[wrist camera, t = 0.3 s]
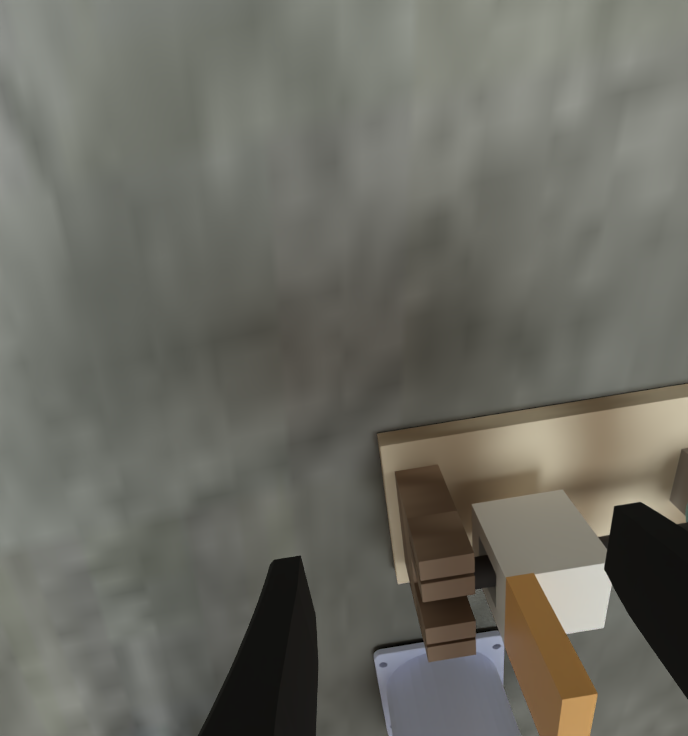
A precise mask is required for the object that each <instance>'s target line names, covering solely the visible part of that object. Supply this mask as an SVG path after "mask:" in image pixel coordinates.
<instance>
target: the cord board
mask: <svg viewBox="0 0 688 736" xmlns="http://www.w3.org/2000/svg"><path fill="white" fill-rule="evenodd" d="M377 437H378V445H379V452H380V460H381V468H382V475H383V483H384V490H385V498H386V506H387V513H388V521H389V528H390V536H391V544H392V551H393V559H394V566H395V572H396V577H397V582H398V584H402V583H408V582H410V586H411V590H412V594H413V599H414V603H415V607H416V611H417V616H418V620H419V624H420V628H421V633H422V637H423V641H424V645H425V649H426V654H427V658H428V662H434V661H440V660H447V659H453V658H459V657H465V656H471V655H476V639H475V637H476V621H475V618H474V615H473V612H472V609H471V607H470V604H469V601H468V598H467V595H472V594H475V589H481V588H487V587H493V586H496V573H495V571H494V568H493V566H492V564H491V562H490V559H489V557H488V555H483V556H477V557H474V551H473V548H472V504H475V503H481V502H487V501H494V500H500V499H506V498H512V497H518V496H524V495H531V494H537V493H543V492H549V491H555V490H562V489H563V491H564V492H565V493H566V495H567V496H568V497H569V499H570V500H571V501H572V503H573V504H574V505H575V507H576V508H577V510H578V511H579V512H580V514H581V515H582V516H583V518H584V519H585V520H586V522H587V523H588V524H589V526H590V527H591V528H592V530H593V531H594V532H595V534H596V535H597V536H598V538H599V539H600V541H601V542H602V543H603V545H604V546H605V547H606V549H607V547H608V541H609V535H610V529H611V523H612V516H613V510H614V506H617V505H624V504H630V503H636V502H642V503H644V504H645V505H647V506H649V507H650V508H652V509H654V510H655V511H657V512H658V513H660V514H662V515H663V516H665V517H666V518H668V519H670V520H671V521H673V522H674V523H676V524H677V525H679V526H681V527H682V528H684V529H685V530H687V531H688V384H682V385H675V386H669V387H663V388H657V389H651V390H644V391H638V392H632V393H626V394H620V395H613V396H607V397H601V398H595V399H589V400H582V401H576V402H570V403H564V404H558V405H551V406H545V407H539V408H533V409H526V410H520V411H514V412H508V413H502V414H495V415H489V416H483V417H477V418H471V419H464V420H458V421H452V422H446V423H440V424H433V425H427V426H421V427H415V428H409V429H402V430H396V431H390V432H384V433H377Z"/></svg>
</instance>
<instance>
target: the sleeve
mask: <svg viewBox="0 0 688 736" xmlns="http://www.w3.org/2000/svg"><path fill="white" fill-rule="evenodd" d="M472 548H473V551H474V557H477V556H483V555H488V557H489V559H490V562H491V564H492V566H493V568H494V571H495V573H496V586H493V587H487V588H482V589H483V592H484V594H485V597H486V599H487V602H488V604H489V607H490V609H491V612H492V615H493V617H494V620H495V622H496V625H497V627H498V630H499V632H500V635H501V637H502V640H503V642H504V647H505V649H506V652H507V654H508V657H509V659H510V662H511V664H512V667H513V669H514V672H515V674H516V677H517V680H518V682H519V685H520V687H521V690H522V692H523V695H524V697H525V700H526V702H527V705H528V707H529V710H530V713H531V715H532V718H533V720H534V723H535V725H536V728H537V730H538V733H539V735H540V736H590V731H591V726H592V721H593V716H594V711H595V706H596V700H597V695H598V693H597V691H596V690H595V688H594V686H593V684H592V682H591V680H590V678H589V676H588V674H587V673H586V671H585V669H584V667H583V665H582V663H581V661H580V659H579V657H578V656H577V654H576V652H575V650H574V648H573V646H572V644H571V642H570V640H569V639H568V637H567V635H566V634H569V633H575V632H581V631H587V630H594V629H600V628H604V624H605V618H606V613H607V607H608V602H609V596H610V591H611V585H612V583H611V581H610V580H609V578H608V576H607V574H606V572H605V570H604V565H605V559H606V553H607V549H606V547H605V546H604V545H603V543H602V542H601V541H600V539H599V538H598V536H597V535H596V534H595V532H594V531H593V530H592V528H591V527H590V526H589V524H588V523H587V522H586V520H585V519H584V518H583V516H582V515H581V514H580V512H579V511H578V510H577V508H576V507H575V505H574V504H573V503H572V501H571V500H570V499H569V497H568V496H567V495H566V493H565V492H564V491H563V489H562V490H555V491H549V492H543V493H537V494H531V495H524V496H518V497H512V498H506V499H500V500H494V501H487V502H481V503H475V504H472Z"/></svg>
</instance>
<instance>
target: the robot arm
mask: <svg viewBox="0 0 688 736" xmlns="http://www.w3.org/2000/svg"><path fill="white" fill-rule="evenodd" d="M604 570H605V572H606V574H607V576H608V578H609V580H610V581H611V583H612V585H613V587H614V589H615V591H616V593H617V595H618V596H619V598H620V600H621V602H622V603H623V605H624V607H625V609H626V611H627V612H628V614H629V616H630V617H631V619H632V620H633V622H634V623H635V624H636V626H637V627H638V629H639V630H640V632H641V633H642V635H643V636H644V638H645V639H646V640H647V642H648V643H649V645H650V646H651V648H652V649H653V651H654V652H655V653H656V655H657V656H658V658H659V659H660V661H661V662H662V663H663V665H664V666H665V668H666V669H667V670H668V672H669V673H670V675H671V676H672V678H673V679H674V680H675V682H676V683H677V685H678V686H679V688H680V689H681V690H682V692H683V693H684V695H685V696H686V697H687V699H688V531H687V530H685V529H684V528H682V527H681V526H679V525H677V524H676V523H674V522H673V521H671V520H670V519H668V518H666V517H665V516H663V515H662V514H660V513H658V512H657V511H655V510H654V509H652V508H650V507H649V506H647V505H645V504H644V503H642V502H636V503H630V504H624V505H617V506H614V510H613V516H612V523H611V529H610V535H609V541H608V547H607V553H606V559H605V565H604ZM475 639H476V655H471V656H465V657H459V658H453V659H447V660H440V661H434V662H428V658H427V654H426V649H425V645H424V642H421V643H415V644H409V645H403V646H396V647H390V648H384V649H379V650H377V651H375V653H374V662H375V668H376V673H377V679H378V684H379V689H380V695H381V700H382V706H383V711H384V716H385V722H386V727H387V733H388V735H389V736H521V734H520V731H519V729H518V726H517V723H516V720H515V718H514V715H513V712H512V709H511V707H510V704H509V701H508V698H507V695H506V693H505V690H504V687H503V676H504V642H503V640H502V637H501V635H500V632H499V631H497V630H496V631H489V632H482V633H476V637H475ZM317 688H318V649H317V631H316V615H315V611H314V607H313V603H312V599H311V595H310V591H309V587H308V583H307V579H306V575H305V571H304V567H303V563H302V559H301V556H295V557H289V558H283V559H276V560H274V561H273V562H272V563H271V564H270V567H269V570H268V574H267V577H266V580H265V583H264V586H263V589H262V592H261V595H260V597H259V600H258V603H257V606H256V608H255V611H254V614H253V616H252V619H251V621H250V624H249V626H248V629H247V631H246V634H245V636H244V638H243V641H242V643H241V646H240V648H239V650H238V653H237V655H236V657H235V660H234V662H233V664H232V667H231V669H230V671H229V673H228V675H227V677H226V679H225V681H224V684H223V686H222V688H221V690H220V692H219V694H218V696H217V698H216V700H215V703H214V705H213V707H212V709H211V711H210V713H209V715H208V717H207V719H206V721H205V723H204V725H203V727H202V729H201V731H200V732H199V734H198V736H316V715H317Z"/></svg>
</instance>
